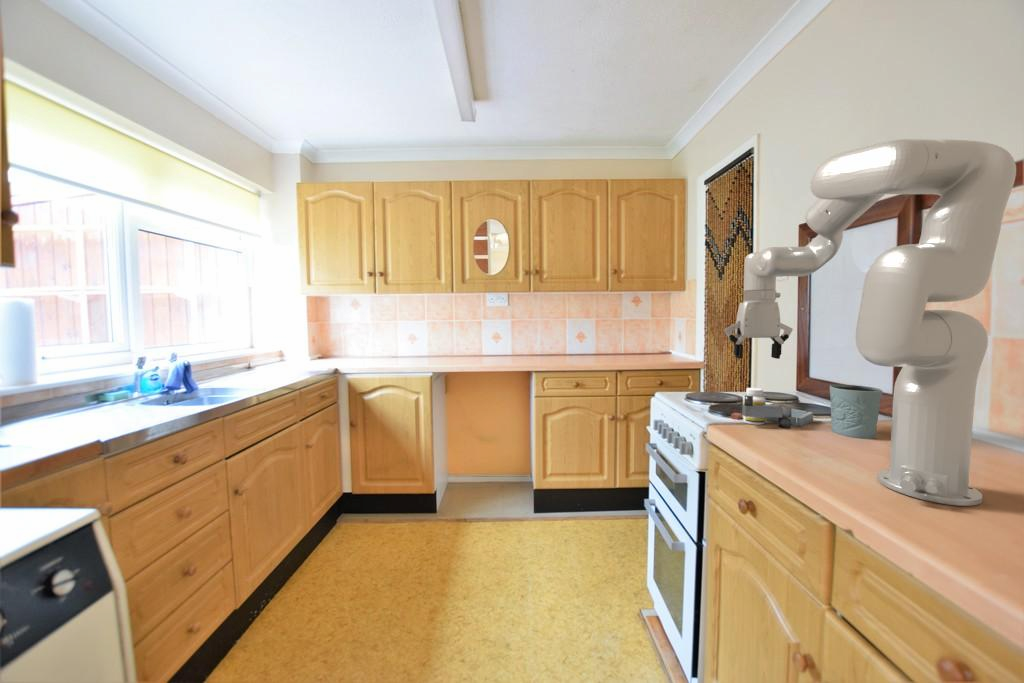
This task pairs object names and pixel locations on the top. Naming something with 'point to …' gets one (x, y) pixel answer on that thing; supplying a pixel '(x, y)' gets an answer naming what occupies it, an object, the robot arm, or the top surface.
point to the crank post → (782, 421)
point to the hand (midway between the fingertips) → (757, 358)
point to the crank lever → (765, 409)
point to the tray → (796, 418)
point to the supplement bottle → (757, 399)
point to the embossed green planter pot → (854, 410)
